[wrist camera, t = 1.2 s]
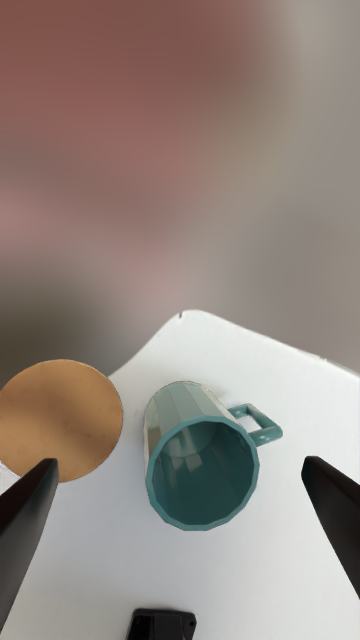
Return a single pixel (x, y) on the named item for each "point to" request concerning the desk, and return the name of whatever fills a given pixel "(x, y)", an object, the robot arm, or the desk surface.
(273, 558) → the desk surface
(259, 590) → the desk surface
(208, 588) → the desk surface
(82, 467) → the cork coaster
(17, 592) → the robot arm
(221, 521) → the mug
